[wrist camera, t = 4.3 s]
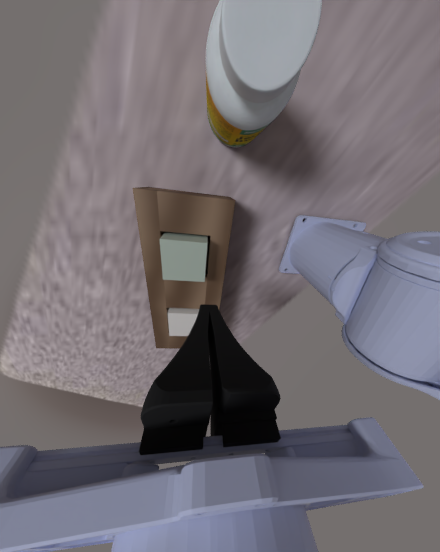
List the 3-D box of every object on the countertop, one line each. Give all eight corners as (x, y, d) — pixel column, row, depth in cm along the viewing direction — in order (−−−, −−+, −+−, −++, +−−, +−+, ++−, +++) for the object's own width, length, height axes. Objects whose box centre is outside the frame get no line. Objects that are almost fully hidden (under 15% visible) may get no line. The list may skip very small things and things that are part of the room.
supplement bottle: (243, 45, 12) (314, -223, 4) (274, 119, 15) (359, 39, 7) (193, 103, 14) (173, -12, 6) (229, 162, 16) (251, 141, 8)
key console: (229, 196, 18) (235, 200, 14) (212, 329, 29) (213, 348, 25) (147, 186, 17) (132, 187, 13) (162, 327, 28) (156, 348, 24)
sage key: (207, 234, 17) (207, 243, 15) (205, 268, 20) (204, 281, 17) (166, 230, 17) (159, 238, 14) (168, 266, 19) (162, 279, 16)
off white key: (202, 299, 23) (201, 314, 21) (201, 320, 25) (200, 336, 23) (172, 298, 23) (167, 313, 20) (173, 320, 25) (169, 335, 22)
